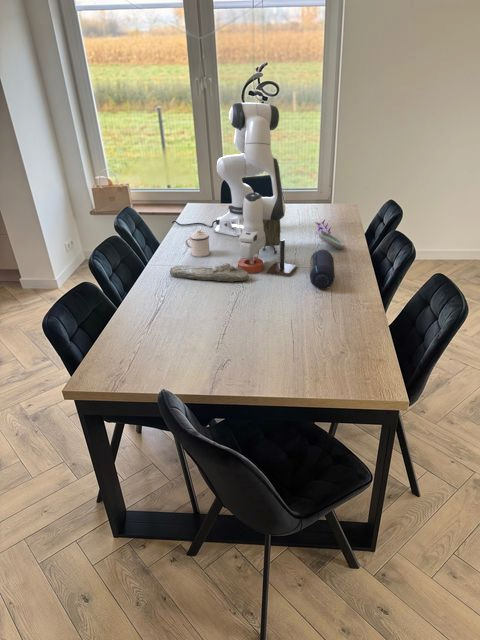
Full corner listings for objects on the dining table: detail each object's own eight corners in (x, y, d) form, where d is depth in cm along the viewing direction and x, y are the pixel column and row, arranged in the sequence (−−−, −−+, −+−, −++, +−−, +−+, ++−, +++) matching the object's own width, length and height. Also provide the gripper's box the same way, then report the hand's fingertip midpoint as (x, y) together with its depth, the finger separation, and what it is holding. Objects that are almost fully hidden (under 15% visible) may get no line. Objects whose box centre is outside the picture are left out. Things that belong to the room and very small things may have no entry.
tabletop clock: (280, 255, 231) (280, 202, 218) (261, 256, 230) (260, 203, 217) (274, 244, 244) (274, 193, 230) (256, 245, 242) (255, 194, 229)
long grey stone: (175, 272, 218) (167, 282, 210) (173, 261, 215) (165, 271, 207) (251, 273, 211) (246, 284, 203) (250, 262, 208) (245, 272, 200)
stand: (267, 273, 213) (267, 242, 206) (275, 265, 221) (275, 235, 214) (288, 276, 210) (289, 245, 203) (296, 268, 218) (297, 237, 210)
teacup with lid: (213, 251, 236) (211, 227, 230) (206, 258, 229) (204, 234, 223) (190, 249, 239) (188, 225, 233) (182, 255, 232) (180, 231, 226)
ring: (233, 271, 215) (233, 264, 214) (244, 262, 224) (244, 255, 222) (257, 275, 212) (256, 268, 210) (266, 265, 220) (266, 259, 219)
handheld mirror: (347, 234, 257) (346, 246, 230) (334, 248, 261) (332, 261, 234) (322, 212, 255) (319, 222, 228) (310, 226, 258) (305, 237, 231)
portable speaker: (310, 267, 218) (311, 246, 213) (332, 268, 217) (333, 246, 212) (309, 291, 197) (310, 268, 192) (334, 292, 196) (335, 269, 191)
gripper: (256, 224, 222) (256, 253, 229) (237, 238, 206) (238, 269, 214) (268, 225, 220) (269, 254, 227) (251, 240, 204) (251, 271, 211)
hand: (254, 261), depth 220 cm, fingers closed on ring, 2 cm apart
